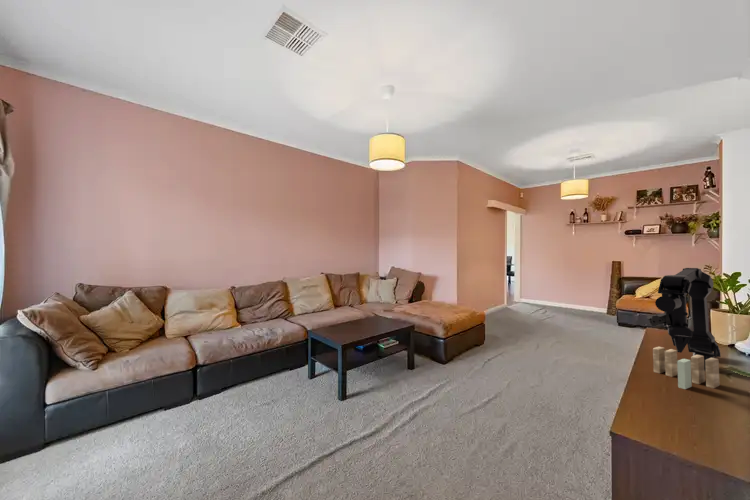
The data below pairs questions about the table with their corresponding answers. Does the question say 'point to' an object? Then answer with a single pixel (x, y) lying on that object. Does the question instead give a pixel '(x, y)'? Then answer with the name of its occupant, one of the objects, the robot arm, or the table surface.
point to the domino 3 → (684, 373)
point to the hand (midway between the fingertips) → (677, 349)
